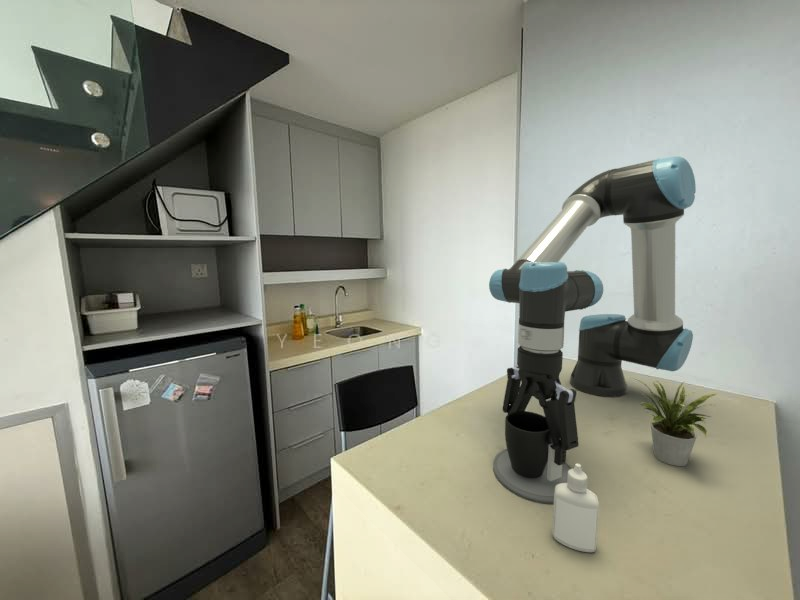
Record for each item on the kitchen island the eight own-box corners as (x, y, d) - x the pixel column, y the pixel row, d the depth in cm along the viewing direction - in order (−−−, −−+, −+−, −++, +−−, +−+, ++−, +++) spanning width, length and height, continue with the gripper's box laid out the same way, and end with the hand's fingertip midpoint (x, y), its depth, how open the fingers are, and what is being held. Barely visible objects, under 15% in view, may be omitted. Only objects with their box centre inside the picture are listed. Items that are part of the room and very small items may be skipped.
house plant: (610, 453, 67) (616, 379, 65) (630, 430, 76) (636, 364, 73) (703, 491, 56) (714, 403, 54) (714, 458, 65) (724, 382, 63)
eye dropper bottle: (585, 563, 43) (591, 482, 42) (546, 534, 48) (550, 460, 46) (601, 546, 46) (607, 469, 44) (562, 520, 50) (566, 450, 49)
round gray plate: (532, 443, 71) (532, 440, 71) (598, 487, 57) (598, 483, 57) (477, 462, 65) (477, 457, 65) (535, 515, 51) (536, 510, 51)
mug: (575, 470, 59) (578, 421, 58) (527, 489, 55) (529, 437, 53) (540, 446, 67) (542, 403, 66) (494, 462, 62) (495, 415, 61)
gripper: (485, 337, 66) (483, 439, 69) (578, 368, 47) (569, 508, 50) (513, 333, 69) (510, 431, 72) (611, 361, 50) (601, 493, 53)
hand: (534, 463), depth 61 cm, fingers open, 8 cm apart
